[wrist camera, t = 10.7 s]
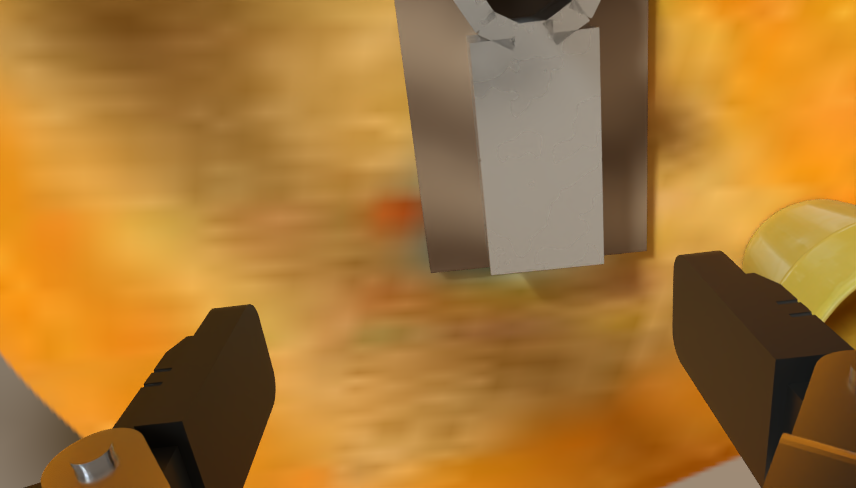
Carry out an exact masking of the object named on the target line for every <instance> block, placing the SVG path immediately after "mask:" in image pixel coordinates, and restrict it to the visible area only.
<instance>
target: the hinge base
mask: <svg viewBox="0 0 856 488" xmlns="http://www.w3.org/2000/svg"><path fill="white" fill-rule="evenodd" d="M486 1H487V2H488V4H489V5H490V7H491V8H492V10H493V11H494V12H496V13H498V14H500V15H503V16H505V17H507V18H509V19H510V18H518V17H526V16H534V15H535V14H536V13H538V12H539V11H540V10H541V9H543V8H544V7H545V6H547V5H548V4H549V3H551V2H552V1H553V0H486ZM395 8H396V15H397V23H398V30H399V38H400V45H401V53H402V60H403V68H404V75H405V83H406V90H407V98H408V105H409V113H410V120H411V128H412V135H413V143H414V150H415V158H416V165H417V173H418V180H419V188H420V195H421V203H422V210H423V218H424V225H425V233H426V240H427V248H428V255H429V263H430V270H431V273H436V272H445V271H455V270H465V269H475V268H484V267H490V265H489V259H488V253H487V247H486V240H485V229H484V219H483V208H482V198H481V187H480V177H479V166H478V155H477V145H476V134H475V124H474V113H473V103H472V92H471V82H470V71H469V60H468V50H467V39H466V36H470V35H478V34H477V33H475V31H474V30H473V28H472V27H471V25H470V24H469V22H468V21H467V20H466V18H465V17H464V15H463V14H462V12H461V11H460V9H459V8H458V6H457V5H456V4H455V2H454V1H453V0H395ZM589 20H590V21H589V22H587V23H586V24H589V25H593V26H597V27H599V38H600V88H601V137H602V187H603V237H604V255H611V254H621V253H631V252H641V251H647V120H648V0H601V1H600V3H599V5H598V7H597V9H596V11H595V13H594V15H593V17H592V18H589Z"/></svg>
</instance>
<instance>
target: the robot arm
mask: <svg viewBox="0 0 856 488" xmlns="http://www.w3.org/2000/svg"><path fill="white" fill-rule="evenodd" d="M673 340H674V345H675V349H676V353H677V355H678V358H679V360H680V362H681V364H682V365H683V367H684V368H685V370H686V372H687V373H688V375H689V376H690V378H691V379H692V381H693V382H694V384H695V386H696V387H697V389H698V390H699V392H700V393H701V395H702V396H703V398H704V400H705V401H706V403H707V404H708V406H709V407H710V409H711V410H712V412H713V413H714V415H715V417H716V418H717V420H718V421H719V423H720V424H721V426H722V427H723V429H724V431H725V432H726V434H727V435H728V437H729V438H730V440H731V441H732V443H733V445H734V446H735V448H736V449H737V451H738V452H739V454H740V455H741V457H742V458H743V460H744V461H745V463H746V465H747V466H748V468H749V469H750V471H751V472H752V474H753V475H754V477H755V479H756V480H757V482H758V483H759V485H760V486H761V488H856V350H855V349H854V348H852V347H851V346H850V345H849V344H848V343H847V342H846V341H844V340H843V339H842V338H841V337H840V336H839V335H838V334H837V333H835V332H834V331H833V330H832V329H831V328H830V327H829V326H827V325H826V324H825V323H824V322H823V321H822V320H821V319H820V318H818V317H817V316H816V315H812V311H810V310H809V309H808V308H807V307H806V306H805V305H804V304H803V303H801V302H798V300H797V298H796V297H795V296H793V295H792V294H791V293H790V292H789V291H788V290H787V289H786V288H784V287H783V286H782V285H781V284H779V283H777V282H775V281H772V280H770V279H768V278H765V277H763V276H761V275H759V274H756V273H747V274H746V273H744V272H743V271H742V270H741V269H740V268H739V267H738V266H737V265H736V264H735V263H734V262H733V261H732V260H731V259H730V258H729V257H728V256H727V255H725V254H724V253H723V252H722V251H711V252H702V253H694V254H685V255H678V256H677V257H676V259H675V263H674V276H673ZM274 401H275V376H274V371H273V368H272V364H271V360H270V356H269V353H268V349H267V345H266V341H265V338H264V334H263V330H262V327H261V323H260V319H259V316H258V313H257V311H256V309H255V307H254V306H253V305H251V304H248V305H240V306H231V307H223V308H214V309H212V310H211V311H210V312H209V313H208V315H207V316H206V318H205V319H204V321H203V322H202V324H201V325H200V327H199V328H198V330H197V331H196V333H195V334H194V336H187V337H186V338H184V339H183V340H182V341H181V342H179V343H178V344H177V345H175V346H174V347H173V348H171V349H170V350H169V351H167V352H166V353H165V355H164V356H163V358H162V359H161V360H160V362H159V363H158V365H157V366H156V367H155V369H154V373H151V375H150V376H149V377H148V379H147V380H146V382H145V383H144V387H142V388H141V389H140V390H139V391H138V393H137V394H136V396H135V397H134V399H133V400H132V401H131V403H130V404H129V406H128V407H127V408H126V410H125V411H124V413H123V414H122V416H121V417H120V418H119V420H118V421H117V423H116V424H115V425H114V427H113V428H112V429H108V430H104V431H100V432H97V433H94V434H91V435H89V436H87V437H84V438H82V439H80V440H78V441H77V442H75V443H73V444H72V445H70V446H68V447H67V448H65V449H64V450H63V451H61V452H60V453H59V454H58V455H57V456H56V457H54V459H53V460H52V461H51V462H50V463H49V464H48V465H47V467H46V468H45V470H44V472H43V474H42V477H41V482H40V483H37V484H34V485H31V486H28V487H25V488H243V486H244V484H245V481H246V478H247V476H248V473H249V470H250V467H251V465H252V462H253V459H254V457H255V454H256V451H257V448H258V446H259V443H260V440H261V438H262V435H263V432H264V429H265V427H266V424H267V421H268V419H269V416H270V413H271V411H272V408H273V405H274Z"/></svg>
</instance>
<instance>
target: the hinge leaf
mask: <svg viewBox="0 0 856 488" xmlns="http://www.w3.org/2000/svg"><path fill="white" fill-rule="evenodd" d="M453 1H454V2H455V4H456V5H457V6H458V8H459V9H460V11H461V12H462V14H463V15H464V17H465V18H466V20H467V21H468V22H469V24H470V25H471V27H472V28H473V30H474V31H475V33H477V34H478V35H470V36H466V39H467V50H468V60H469V71H470V82H471V92H472V103H473V113H474V124H475V134H476V145H477V155H478V166H479V177H480V187H481V198H482V208H483V219H484V229H485V240H486V247H487V253H488V259H489V265H490V271H491V275H498V274H508V273H518V272H528V271H538V270H548V269H558V268H568V267H578V266H588V265H598V264H604V237H603V187H602V137H601V88H600V38H599V27H597V26H593V25H589V24H586V23H587V22H589V21H590V20H589V18H592V17H593V15H594V13H595V11H596V9H597V7H598V5H599V3H600V1H601V0H553V1H552V2H551V3H549V4H548V5H547V6H545V7H544V8H543V9H541V10H540V11H539V12H538V13H536V14H535V15H534V16H526V17H518V18H510V19H509V18H507V17H505V16H503V15H500V14H498V13H496V12H494V11H493V10H492V8H491V7H490V5H489V4H488V2H487V1H486V0H453Z"/></svg>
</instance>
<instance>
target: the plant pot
mask: <svg viewBox="0 0 856 488" xmlns="http://www.w3.org/2000/svg"><path fill="white" fill-rule="evenodd" d="M742 271H743V272H744V273H746V274H747V273H756V274H759V275H761V276H763V277H765V278H768V279H770V280H772V281H775V282H777V283H779V284H781V285H782V286H783V287H784V288H786V289H787V290H788V291H789V292H790V293H791V294H792V295H793V296H795V297H796V298H797V300H798V302H801V303H803V304H804V305H805V306H806V307H807V308H808V309H809V310H810V311H812V315H816V316H817V317H818V318H820V319H821V320H822V321H823V322H824V323H825V324H826V325H827V326H829V327H830V328H831V329H832V330H833V331H834V332H835V333H837V334H838V335H839V336H840V337H841V338H842V339H843V340H844V341H846V342H847V343H848V344H849V345H850V346H851V347H852V348H854V349H855V350H856V205H854V204H849V203H845V202H841V201H837V200H830V199H815V200H808V201H803V202H800V203H796V204H793V205H791V206H788V207H786V208H784V209H781V210H780V211H778V212H777V213H775V214H774V215H772V216H771V217H770V218H769V219H767V220H766V221H765V222H764V223H763V224H762V225H761V226H760V227H759V228H758V230H757V231H756V232H755V234H754V235H753V236H752V238H751V240H750V241H749V243H748V245H747V247H746V250H745V253H744V257H743V262H742Z"/></svg>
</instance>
